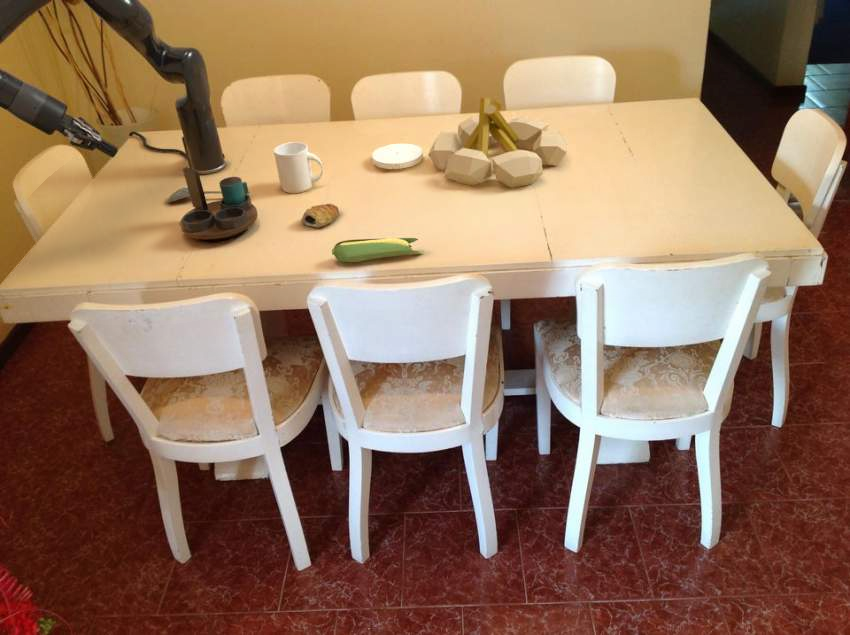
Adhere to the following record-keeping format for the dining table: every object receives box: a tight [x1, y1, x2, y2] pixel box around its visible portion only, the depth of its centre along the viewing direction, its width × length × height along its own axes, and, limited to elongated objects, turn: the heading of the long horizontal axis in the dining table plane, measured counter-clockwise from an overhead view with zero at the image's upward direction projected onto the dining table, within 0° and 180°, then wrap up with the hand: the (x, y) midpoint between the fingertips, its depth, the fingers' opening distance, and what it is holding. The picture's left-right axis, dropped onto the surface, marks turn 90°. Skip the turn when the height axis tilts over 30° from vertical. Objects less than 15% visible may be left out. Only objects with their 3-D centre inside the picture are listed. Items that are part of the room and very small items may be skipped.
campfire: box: [427, 97, 568, 189], centre depth 192 cm, size 35×34×17 cm
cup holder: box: [179, 166, 259, 240], centre depth 172 cm, size 19×18×11 cm
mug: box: [273, 141, 324, 194], centre depth 190 cm, size 9×12×11 cm
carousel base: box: [197, 227, 250, 244], centre depth 175 cm, size 13×13×2 cm
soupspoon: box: [167, 187, 251, 203], centre depth 190 cm, size 22×3×7 cm
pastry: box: [300, 203, 340, 229], centre depth 175 cm, size 9×7×4 cm
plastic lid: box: [371, 142, 424, 170], centre depth 201 cm, size 14×14×2 cm
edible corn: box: [331, 237, 425, 264], centre depth 158 cm, size 5×20×5 cm, turn 94°
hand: (115, 153), depth 164 cm, fingers closed
